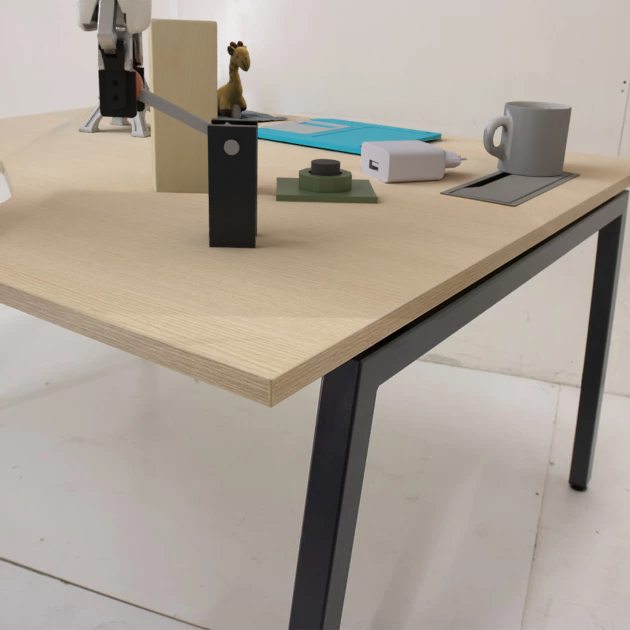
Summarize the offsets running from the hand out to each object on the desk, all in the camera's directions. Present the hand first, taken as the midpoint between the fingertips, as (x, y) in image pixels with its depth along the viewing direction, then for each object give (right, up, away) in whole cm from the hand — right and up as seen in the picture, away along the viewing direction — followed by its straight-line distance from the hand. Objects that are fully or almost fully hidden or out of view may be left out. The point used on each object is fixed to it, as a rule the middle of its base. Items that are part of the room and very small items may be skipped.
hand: (123, 111), depth 73 cm
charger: (+33, +2, +45) cm, 56 cm away
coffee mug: (+50, +4, +52) cm, 72 cm away
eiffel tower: (-17, +16, +77) cm, 80 cm away
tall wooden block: (+1, -3, +31) cm, 31 cm away
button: (+19, -1, +25) cm, 31 cm away
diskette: (+23, +14, +76) cm, 80 cm away
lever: (+4, -2, +1) cm, 5 cm away
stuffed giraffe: (0, +23, +97) cm, 100 cm away
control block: (+19, -5, +26) cm, 33 cm away
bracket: (+10, -13, +5) cm, 17 cm away
